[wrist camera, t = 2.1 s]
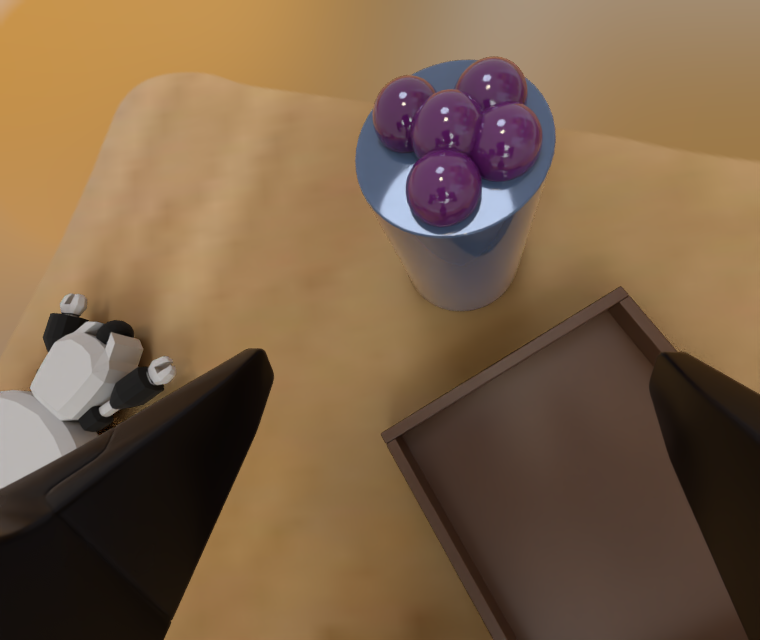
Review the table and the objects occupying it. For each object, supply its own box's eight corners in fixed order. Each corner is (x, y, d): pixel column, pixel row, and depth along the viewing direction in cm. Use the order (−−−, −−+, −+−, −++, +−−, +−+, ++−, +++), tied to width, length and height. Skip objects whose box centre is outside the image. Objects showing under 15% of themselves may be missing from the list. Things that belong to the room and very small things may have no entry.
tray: (863, 603, 16) (920, 634, 14) (566, 748, 18) (578, 795, 16) (606, 296, 21) (621, 285, 19) (388, 430, 22) (379, 433, 20)
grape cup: (542, 270, 22) (625, 112, 10) (444, 332, 23) (407, 257, 10) (477, 187, 24) (478, -31, 12) (388, 247, 25) (301, 99, 12)
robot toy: (105, 295, 30) (-15, 465, 29) (46, 274, 26) (-99, 473, 24) (214, 372, 27) (85, 573, 25) (166, 362, 22) (6, 604, 21)
